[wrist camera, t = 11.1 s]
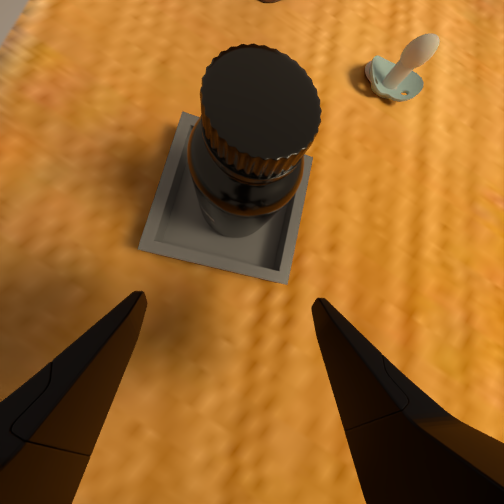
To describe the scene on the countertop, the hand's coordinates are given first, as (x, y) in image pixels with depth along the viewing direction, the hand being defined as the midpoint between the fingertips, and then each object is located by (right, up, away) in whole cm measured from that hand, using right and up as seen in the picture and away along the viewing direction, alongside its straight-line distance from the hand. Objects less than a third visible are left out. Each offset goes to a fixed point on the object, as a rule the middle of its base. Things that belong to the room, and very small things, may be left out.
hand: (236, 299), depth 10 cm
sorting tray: (-1, +7, +9) cm, 12 cm away
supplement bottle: (-1, +7, +9) cm, 12 cm away
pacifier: (+18, +25, +15) cm, 34 cm away
